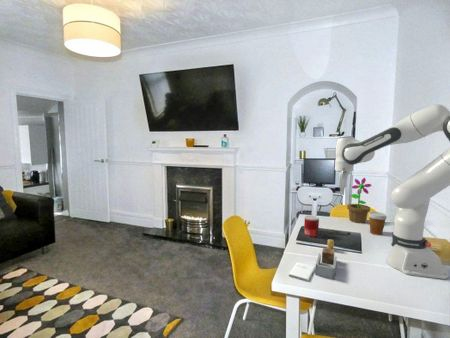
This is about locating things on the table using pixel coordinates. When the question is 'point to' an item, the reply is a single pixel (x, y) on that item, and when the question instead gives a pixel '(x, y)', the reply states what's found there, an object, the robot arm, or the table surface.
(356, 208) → the flowerpot
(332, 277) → the lane
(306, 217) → the canned food
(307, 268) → the external hard drive
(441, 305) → the table surface
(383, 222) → the disposable coffee cup
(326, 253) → the towed block
